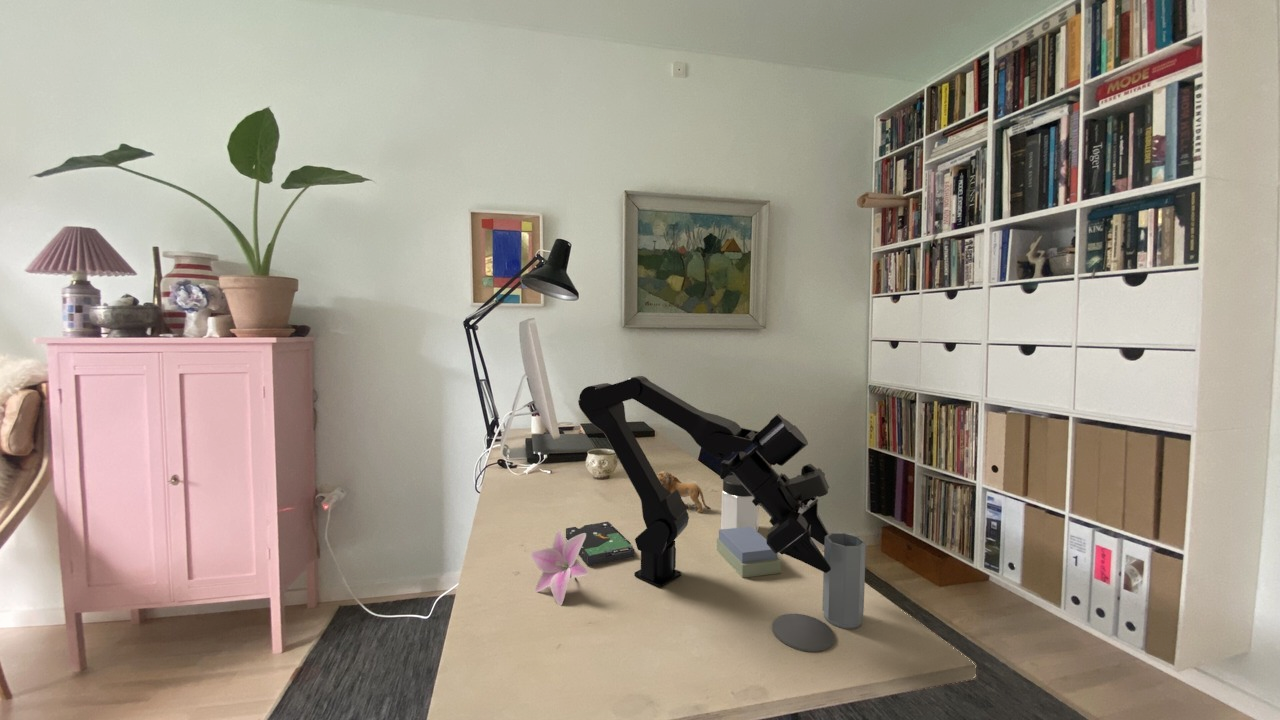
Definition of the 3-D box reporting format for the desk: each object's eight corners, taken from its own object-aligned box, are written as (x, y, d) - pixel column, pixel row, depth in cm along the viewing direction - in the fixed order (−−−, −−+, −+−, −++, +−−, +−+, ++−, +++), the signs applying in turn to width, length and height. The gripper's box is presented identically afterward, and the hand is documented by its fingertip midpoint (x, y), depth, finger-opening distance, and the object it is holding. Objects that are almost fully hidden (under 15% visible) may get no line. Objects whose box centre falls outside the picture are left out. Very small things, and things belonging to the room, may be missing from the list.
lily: (529, 579, 93) (513, 546, 89) (584, 545, 98) (572, 512, 93) (553, 629, 84) (536, 595, 79) (613, 590, 88) (600, 555, 83)
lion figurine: (652, 507, 129) (653, 473, 128) (658, 500, 134) (659, 468, 133) (708, 514, 124) (709, 479, 124) (712, 507, 129) (713, 473, 129)
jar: (766, 532, 114) (768, 481, 113) (744, 542, 108) (745, 488, 108) (736, 520, 120) (737, 472, 120) (713, 529, 115) (714, 478, 114)
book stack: (780, 572, 95) (781, 550, 94) (742, 577, 93) (742, 554, 92) (751, 546, 106) (751, 526, 106) (716, 549, 104) (717, 529, 104)
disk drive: (564, 540, 110) (587, 569, 96) (564, 528, 109) (587, 555, 96) (607, 532, 114) (636, 558, 101) (608, 520, 114) (636, 545, 101)
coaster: (819, 660, 70) (819, 657, 70) (761, 633, 76) (761, 630, 76) (843, 632, 76) (843, 629, 76) (788, 609, 82) (788, 607, 82)
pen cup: (854, 633, 76) (857, 550, 75) (817, 619, 80) (820, 539, 79) (866, 618, 80) (869, 539, 79) (831, 605, 84) (834, 529, 83)
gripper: (790, 466, 73) (871, 554, 69) (805, 441, 90) (870, 510, 86) (736, 511, 77) (810, 596, 73) (760, 478, 93) (821, 546, 90)
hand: (830, 558), depth 80 cm, fingers open, 9 cm apart
